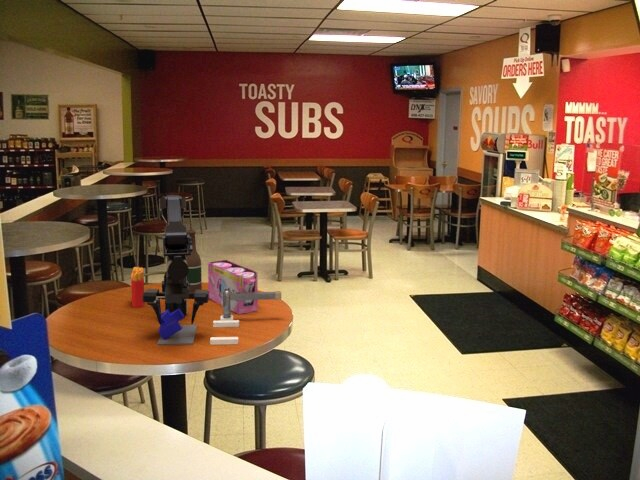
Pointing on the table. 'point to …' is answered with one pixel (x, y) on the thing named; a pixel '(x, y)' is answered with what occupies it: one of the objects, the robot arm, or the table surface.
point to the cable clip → (170, 323)
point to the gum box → (232, 284)
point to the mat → (180, 336)
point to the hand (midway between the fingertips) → (176, 323)
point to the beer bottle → (194, 266)
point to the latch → (245, 298)
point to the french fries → (137, 287)
